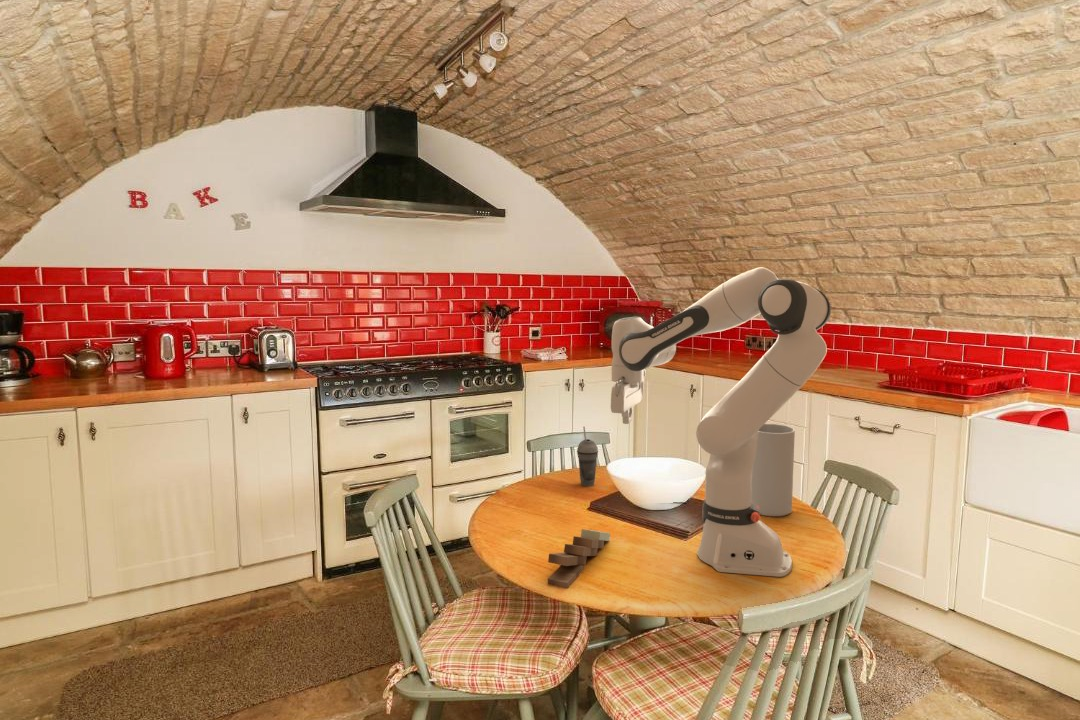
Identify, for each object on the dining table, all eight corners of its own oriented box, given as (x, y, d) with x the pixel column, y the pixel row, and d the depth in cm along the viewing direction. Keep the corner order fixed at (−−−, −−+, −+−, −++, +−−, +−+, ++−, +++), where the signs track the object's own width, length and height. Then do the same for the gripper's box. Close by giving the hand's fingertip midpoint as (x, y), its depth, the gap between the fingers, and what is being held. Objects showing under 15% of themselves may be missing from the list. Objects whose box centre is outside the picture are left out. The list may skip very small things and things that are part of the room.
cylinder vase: (746, 514, 196) (748, 431, 193) (749, 500, 207) (751, 422, 204) (791, 519, 191) (794, 434, 188) (791, 505, 203) (794, 425, 200)
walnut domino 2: (583, 565, 161) (567, 582, 152) (583, 573, 161) (567, 591, 152) (564, 561, 163) (547, 578, 154) (564, 569, 163) (547, 587, 154)
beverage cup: (595, 488, 221) (595, 429, 219) (574, 486, 224) (574, 428, 221) (600, 482, 228) (600, 425, 226) (580, 480, 230) (579, 423, 228)
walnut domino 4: (597, 548, 169) (583, 547, 160) (596, 556, 169) (582, 555, 160) (579, 544, 171) (564, 544, 162) (578, 552, 171) (563, 552, 162)
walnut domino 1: (586, 555, 164) (567, 557, 155) (585, 564, 163) (566, 566, 155) (569, 552, 166) (549, 553, 158) (568, 560, 166) (548, 562, 158)
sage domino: (610, 533, 178) (600, 532, 170) (609, 540, 178) (599, 540, 169) (592, 530, 180) (581, 529, 171) (591, 537, 180) (580, 537, 171)
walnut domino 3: (604, 540, 173) (592, 539, 165) (603, 548, 173) (591, 547, 164) (586, 537, 175) (573, 536, 167) (585, 545, 175) (572, 544, 166)
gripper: (627, 380, 175) (627, 431, 177) (647, 370, 194) (647, 416, 196) (604, 379, 178) (604, 430, 180) (626, 369, 196) (626, 415, 198)
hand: (627, 422), depth 188 cm, fingers closed
